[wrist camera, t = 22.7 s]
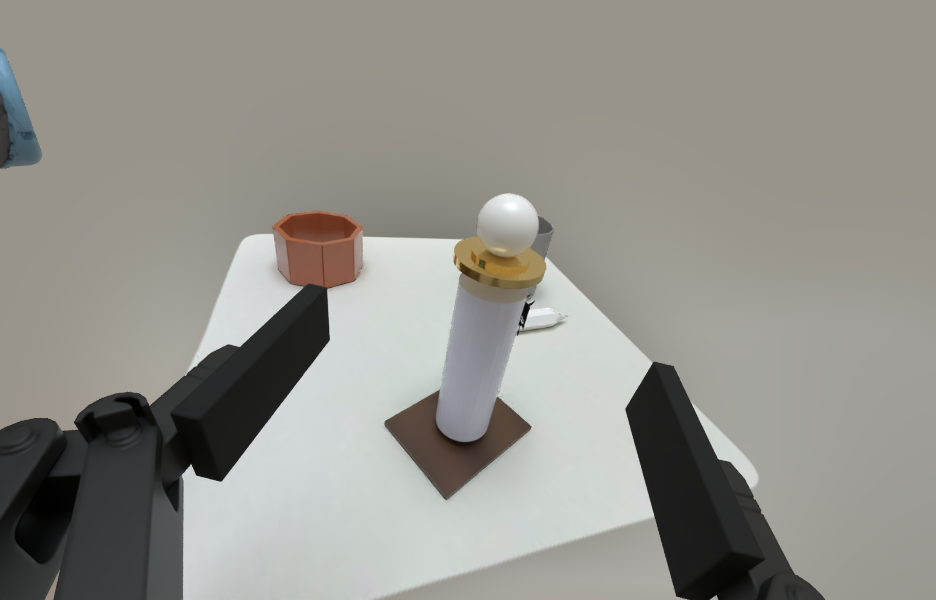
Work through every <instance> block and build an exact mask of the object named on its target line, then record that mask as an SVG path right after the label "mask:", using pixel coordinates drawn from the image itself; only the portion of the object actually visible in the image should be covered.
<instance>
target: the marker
mask: <svg viewBox="0 0 936 600" xmlns="http://www.w3.org/2000/svg"><path fill="white" fill-rule="evenodd" d="M521 317H522V316H521ZM566 317H568V316H567V315H563V314H560V313H558V312H555V311H553V310H552V309H551V308H544V309H535V310H529V313H528V316H527V319H526V322H525V325H524V329H523V328H522V326H520V329H519V327H518V329H519V331H524V330H531V329H538V328H546V327H551V326H553V325H554V324H556V323H557V322H559V321H560V320H562V319H564V318H566ZM522 319H523V318H522ZM521 322H522V320H521ZM451 323H452V322H451ZM522 324H523V323H522ZM518 329H517V331H518Z"/></svg>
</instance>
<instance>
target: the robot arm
mask: <svg viewBox="0 0 936 600" xmlns="http://www.w3.org/2000/svg"><path fill="white" fill-rule="evenodd" d="M41 158H42V152H41V149H40V146H39V143H38V141H37V138H36V135H35V133H34V130H33V127H32V124H31V121H30V118H29V115H28V112H27V109H26V107H25V104H24V101H23V98H22V96H21V93H20V90H19V87H18V85H17V82H16V80H15V77H14V74H13V71H12V69H11V66H10V64H9V61H8V59H7V57H6V54H5V52H4V50H3V49H2V48H1V47H0V168H9V167H11V166H24V165H33V164H36V163H38V162H39V161H40V160H41ZM329 340H330V335H329V317H328V298H327V287H323V286H319V285H314V284H310V283H308V284H307V285H306V286H305V287H304V288H303V289H302V290H301V291H300V292H299V293H297V294H296V295H295V296H294V297H293V298H292V299H291V300H290V301H289V302H288V303H287V304H286V305H285V306H284V307H282V308H281V309H280V310H279V311H278V312H277V313H276V314H275V315H274V316H273V317H272V318H271V319H270V320H268V321H267V322H266V323H265V324H264V325H263V326H262V327H261V328H260V329H259V330H258V331H257V332H256V333H255V334H253V335H252V336H251V337H250V338H249V339H248V340H247V341H246V342H245V343H244V344H243V345H242V346H241V347H237V346H233V345H229V344H228V345H226V346H224V347H222V348H220V349H218V350H216V351H214V352H212V353H210V354H209V355H208V356H207V357H206V358H204V359H203V360H202V361H201V362H200V363H199V364H198V366H197V367H194V368H193V369H192V370H191V371H189V372H188V373H187V375H186V376H184V377H182V378H181V379H180V380H179V381H178V382H177V383H176V384H174V385H173V386H172V387H171V388H170V389H169V390H168V391H166V392H165V393H164V394H163V395H162V396H161V397H159V398H158V399H157V400H156V401H155V402H154V403H152V404H151V405H150V406H149V404H148V402H147V400H146V398H145V397H144V396H142V395H141V394H139V393H132V392H125V393H116V394H113V395H110V396H107V397H104V398H101V399H99V400H97V401H96V402H94V403H92V404H90V405H88V406H87V407H86V408H85V409H84V410H83V411H81V412H80V413H79V414H78V416H77V418H76V420H75V421H74V423H75V425H76V426H77V428H78V430H71V431H70V430H69V431H62V430H61V429H60V427H59V426H58V425H57V423H56V422H55V421H53V420H51V419H48V418H33V419H29V420H24V421H20V422H17V423H15V424H12V425H10V426H7V427H5V428H3V429H1V430H0V600H45V598H46V596H47V594H48V592H49V590H50V588H51V586H52V584H53V582H54V580H55V578H56V575H57V573H58V572H59V570H60V573H59V577H58V582H57V586H56V591H55V595H54V600H183V478H182V474H183V473H184V472H185V471H186V469H187V468H188V467H189V466H190V465H191V464H192V467H193V469H194V471H195V474H196V476H200V477H204V478H208V479H212V480H216V481H220V482H222V480H223V479H224V478H225V477H226V475H227V474H228V473H229V471H230V470H231V469H232V467H233V466H234V465H235V463H236V462H237V461H238V460H239V458H240V457H241V456H242V454H243V453H244V452H245V450H246V449H247V448H248V446H249V445H250V444H251V443H252V441H253V440H254V439H255V437H256V436H257V435H258V433H259V432H260V431H261V429H262V428H263V427H264V426H265V424H266V423H267V422H268V420H269V419H270V418H271V416H272V415H273V414H274V412H275V411H276V410H277V409H278V407H279V406H280V405H281V403H282V402H283V401H284V399H285V398H286V397H287V395H288V394H289V393H290V391H291V390H292V389H293V388H294V386H295V385H296V384H297V382H298V381H299V380H300V378H301V377H302V376H303V374H304V373H305V372H306V371H307V369H308V368H309V367H310V365H311V364H312V363H313V361H314V360H315V359H316V357H317V356H318V355H319V354H320V352H321V351H322V350H323V348H324V347H325V346H326V344H327V343H328V342H329ZM625 410H626V414H627V417H628V421H629V425H630V428H631V432H632V436H633V439H634V443H635V447H636V450H637V454H638V458H639V461H640V465H641V469H642V472H643V476H644V480H645V483H646V487H647V491H648V494H649V498H650V502H651V505H652V509H653V513H654V516H655V520H656V523H657V527H658V531H659V535H660V538H661V542H662V546H663V549H664V553H665V557H666V560H667V564H668V567H669V571H670V575H671V578H672V582H673V585H674V589H675V593H676V596H677V597H680V598H685V599H688V600H710V599H711V598H713V597H714V596H716V595H717V597H718V600H825V599H824V598H823V596H822V595H821V594H820V593H819V592H818V591H817V590H816V589H815V588H814V587H813V586H812V585H811V584H810V583H808V582H807V581H805V580H804V579H802V578H800V577H799V576H797V575H795V574H794V572H793V571H792V569H791V567H790V565H789V563H788V561H787V559H786V557H785V555H784V553H783V552H782V550H781V548H780V546H779V544H778V542H777V540H776V538H775V536H774V534H773V532H772V531H771V528H770V527H769V525H768V523H767V521H766V519H765V517H764V515H763V514H761V509H760V507H759V505H758V504H757V502H756V500H754V499H753V497H754V496H753V494H752V492H751V490H750V488H749V486H748V484H747V482H746V480H745V479H744V477H743V476H742V475H741V474H740V473H739V472H738V471H737V469H736V468H735V467H734V466H733V465H732V464H731V462H728V461H723V460H719V459H718V458H717V456H716V454H715V452H714V450H713V448H712V446H711V444H710V442H709V439H708V437H707V435H706V433H705V431H704V429H703V427H702V425H701V423H700V421H699V418H698V416H697V414H696V412H695V410H694V408H693V406H692V404H691V402H690V400H689V398H688V395H687V393H686V391H685V389H684V387H683V385H682V383H681V381H680V379H679V377H678V374H677V372H676V370H675V368H674V366H671V365H666V364H662V363H657V362H653V364H652V365H651V367H650V369H649V370H648V372H647V374H646V375H645V377H644V379H643V380H642V382H641V384H640V385H639V387H638V389H637V390H636V392H635V394H634V395H633V397H632V399H631V400H630V402H629V404H628V405H627V407H626V409H625Z"/></svg>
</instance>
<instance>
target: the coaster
mask: <svg viewBox="0 0 936 600" xmlns="http://www.w3.org/2000/svg"><path fill="white" fill-rule="evenodd" d="M439 393H440V390H439V391H437V392H435V393H433V394H432V395H430V396H428V397H426V398H425V399H423V400H421V401H419V402H418V403H416V404H414V405H412V406H411V407H409V408H407V409H405V410H404V411H402V412H400V413H398V414H397V415H395V416H393V417H391V418H390V419H388V420H386V421H385V423H384V424H385V426H386V427H387V428H388V429H389V430H390V432H391V433H392V434H393V435H394V437H395V438H396V439H397V440H398V441H399V443H400V444H401V445H402V446H403V448H404V449H405V450H406V451H407V452H408V454H409V455H410V456H411V457H412V458H413V460H414V461H415V462H416V463H417V465H418V466H419V467H420V468H421V469H422V471H423V472H424V473H425V474H426V476H427V477H428V478H429V479H430V480H431V482H432V483H433V484H434V485H435V487H436V488H437V489H438V490H439V491H440V493H441V494H442V495H443V496H444V498H445V499H447V498H449V497H450V496H451V495H452V494H453V493H455V492H456V491H457V490H458V489H459V488H461V487H462V486H463V485H464V484H465V483H467V482H468V481H469V480H470V479H471V478H473V477H474V476H475V475H476V474H477V473H479V472H480V471H481V470H482V469H483V468H485V467H486V466H487V465H488V464H489V463H491V462H492V461H493V460H494V459H495V458H497V457H498V456H499V455H500V454H501V453H503V452H504V451H505V450H506V449H507V448H509V447H510V446H511V445H512V444H513V443H515V442H516V441H517V440H518V439H519V438H520V437H522V436H523V435H524V434H525V433H526V432H528V431H529V430H530V429H531V426H530V425H529V424H528V423H527V422H526V421H525V420H524V419H522V418H521V417H520V416H519V415H518V414H517V413H516V412H514V411H513V410H512V409H511V408H510V407H509V406H508V405H506V404H505V403H504V402H503V401H502V400H501V399H500V398H498V397H497V399H496V402H495V406H494V409H493V412H492V416H491V419H490V422H489V426H488V428H487V431H486V432H485V434H484V435H483V436H482V437H480V438H479V439H477V440H474V441H470V442H460V441H456V440H453V439H451V438H449V437H447V436H446V435H445V434H443V433H442V432H441V430H440V429H439V428H438V425H437V423H436V410H437V404H438V398H439Z"/></svg>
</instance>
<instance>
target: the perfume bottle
mask: <svg viewBox="0 0 936 600" xmlns="http://www.w3.org/2000/svg"><path fill="white" fill-rule="evenodd" d="M538 229H539V219H538V215H537V213H536V210H535V208H534V207H533V205H531V203H530V202H529V201H528V200H527V199H525V198H524V197H522V196H519V195H516V194H508V193H506V194H501V195H498V196H496V197H494V198H492V199H490V200H489V201H488V202H487V203H486V204H485V205H484V206H483V208H482V209H481V211H480V213H479V216H478V219H477V234H478V237H471V238H467V239H464V240H462V241H460V242H458V243H457V244H456V246H455V248H454V254H453V261H454V264H455V266H456V267H457V268H458V269H459V270H460V271H461V272H462V273H461V275H460V277H459V282H458V288H457V294H456V300H455V306H454V311H453V317H452V323H451V329H450V335H449V340H448V346H447V352H446V358H445V364H444V369H443V375H442V381H441V387H440V393H439V398H438V404H437V410H436V423H437V425H438V428H439V429H440V430H441V432H442V433H443V434H445V435H446V436H447V437H449V438H451V439H453V440H456V441H460V442H470V441H474V440H477V439H479V438H480V437H482V436H483V435H484V434H485V432H486V431H487V428H488V426H489V422H490V419H491V416H492V412H493V409H494V406H495V402H496V399H497V396H498V392H499V389H500V386H501V382H502V379H503V376H504V372H505V369H506V366H507V362H508V359H509V356H510V352H511V349H512V346H513V342H514V339H515V335H516V332H517V336H518V334H519V329H520V326H522V328H523V329H524V325H525V322H526V319H527V316H528V313H529V309H530V306H531V305H532V304H533V303H534V301H533V302H532V303H530V304H527V302H526V299H527V298H528V297H529V296H531V295H532V294H533V293H532V294H530V295H528V288H529V287H532V286H535V285H537V284H539V283H540V282H541V281H542V279H543V277H544V274H545V270H546V263H545V261H544V260H543V258H542V257H541V256H540V255H539V254H538V253H536V252H535V251H533V250H532V249H530V247H531V246H532V244H533V243H534V241H535V239H536V237H537V234H538ZM521 316H522V317H521ZM522 318H523V319H522ZM521 320H522V322H521ZM522 323H523V324H522ZM518 327H519V329H518ZM517 329H518V331H517Z"/></svg>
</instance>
